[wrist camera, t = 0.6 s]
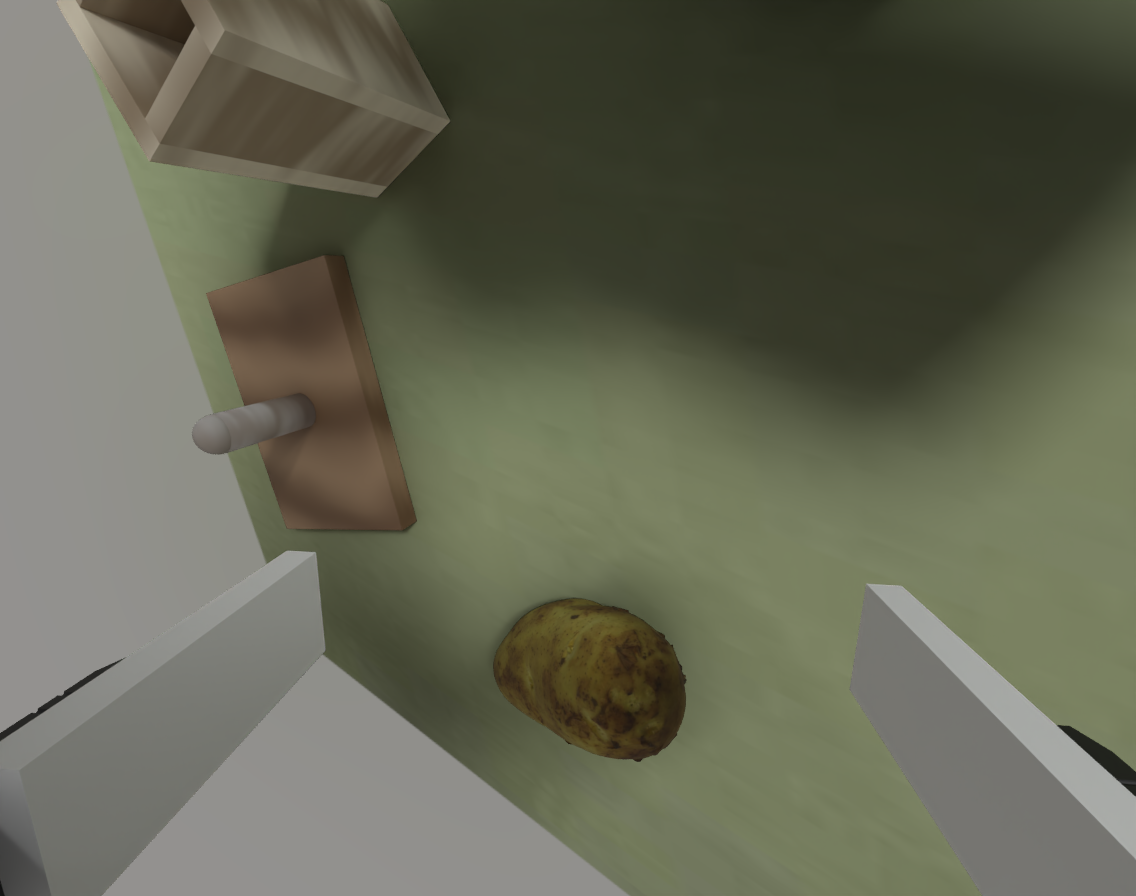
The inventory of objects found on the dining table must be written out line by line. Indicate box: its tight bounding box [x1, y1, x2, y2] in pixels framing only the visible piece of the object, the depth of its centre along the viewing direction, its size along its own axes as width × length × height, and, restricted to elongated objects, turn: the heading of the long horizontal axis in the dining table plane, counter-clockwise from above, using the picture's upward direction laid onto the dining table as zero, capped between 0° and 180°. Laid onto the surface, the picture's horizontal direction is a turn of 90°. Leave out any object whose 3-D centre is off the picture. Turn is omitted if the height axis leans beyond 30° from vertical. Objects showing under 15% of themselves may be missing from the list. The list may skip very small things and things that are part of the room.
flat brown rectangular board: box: [192, 255, 417, 530], centre depth 34 cm, size 18×12×9 cm, turn 11°
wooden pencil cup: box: [57, 0, 450, 198], centre depth 23 cm, size 6×6×12 cm
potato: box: [493, 598, 686, 762], centre depth 30 cm, size 8×13×8 cm, turn 96°
